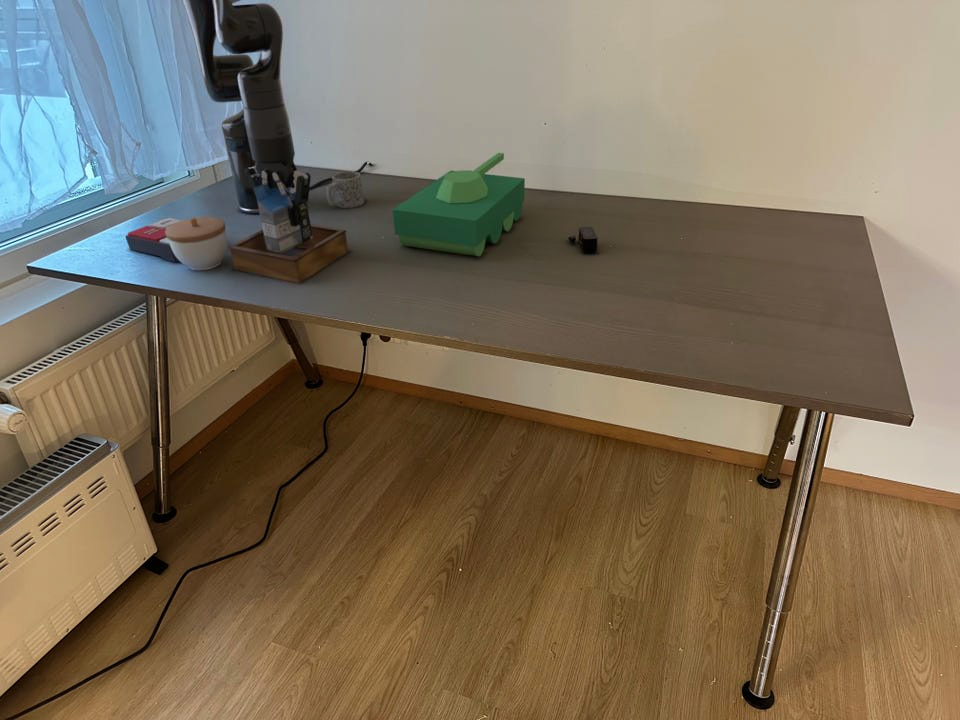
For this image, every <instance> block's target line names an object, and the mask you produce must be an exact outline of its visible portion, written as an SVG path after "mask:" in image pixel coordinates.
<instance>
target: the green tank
mask: <svg viewBox="0 0 960 720" xmlns="http://www.w3.org/2000/svg"><path fill="white" fill-rule="evenodd" d="M504 159H505V153H504V152H497V153H496V154H494V155H493V156H491V157H490V158H489V159H487V160H486V161H485V162H483V163H482V164H480V165H479V166H478V167H476V168H474V170H470V169H468V170H450V171H448V172H446V173H445V174H443V175H442V176H440V177H439V178H437V179H436V180H434V181H433V182H432V183H430V184H429V185H426V187H425V188H423V189H421V190H420V191H418V192H417V193H415V194H414V195H412V196H411V197H409V198H408V199H406V200H405V201H403V202H402V203H400V204H399V205H398V206H395V208H393V209H392V217H393V227H394V235H397V236H398V240H399V243H400V244H401V245H402V246H405V247H409V248H410V247H411V248H417V249H425V250H432V251H438V252H444V253H445V252H446V253H452V254H461V255H467V256H474V257H480V256H482V255H483V252H484V250H485V246H486V244H487V243H488V244H497V243H498V242H499V240H500V239H501V236H502V232H509V231H510V230H511V229H512V226H513V224H514V222H517V221H518V220H519V219H520V217H521V214H522V211H523V210H522V209H523V203H524V202H525V187H526V185H525V182H526V181H525V177H516V176H508V175H496V174H487V173H488V172H489V171H490V170H491V169H493V168H494V167H495V166H497V165H498V164H500V163H501V162H502V161H503V160H504Z"/></svg>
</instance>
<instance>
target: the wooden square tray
mask: <svg viewBox="0 0 960 720" xmlns="http://www.w3.org/2000/svg"><path fill="white" fill-rule="evenodd" d="M310 224H311V230H312V236H313V238H312V239H310V240H308V241H306V242H304V243H302V244H300V245H298V246H296V247H294V248H296V249H301V250H304V251H302V252H300V253H298V254H296V255H294V256H291V255H285V254H279V253H275V252H272V251H268V250H267V247H266V242H265V237H264V232H263V229H261V230H259V231H257V232H255V233H252V235H249V236H247V237H246V238H243V239H241V240H239V241H238V242H236V243H233V244H232V245H229V246H228V247H227V249H228V250H229V252H230V256H231V260H232V264H233V269H234V270H235V271H240V272H245V273H249V274H255V275H259V276H264V277H269V278H273V279H278V280H283V281H288V282H292V283H296V284H300V283H302V282H304V281H305V280H306V279H308V278H310V277H312V276H313V275H314V274H316V273H317V272H319V271H320V270H322V269H324V268H325V267H326V266H328V265H330V264H331V263H333V262H334V261H336V260H338V259H340V258H341V257H342V256H344V255H346V254H348V253H349V248H348V246H349V245H348V240H347V234H346V233H347V229H343V228H337V227H332V226H325V225H318V224H313V223H310Z"/></svg>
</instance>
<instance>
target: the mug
mask: <svg viewBox="0 0 960 720" xmlns="http://www.w3.org/2000/svg"><path fill="white" fill-rule="evenodd" d="M354 171H355V170H354ZM354 171H353V170H351V171H350V170H349V171H340V172H336V173H334V174H333V175H332V176H331V177H332V183H330V184H329V185H328V186H327V187H326V189H325V195H326V196H325V197H326V200H327V203H328V204H327V205H329V206H330V207H335V206H336V207H339V208H342V209H343V208H344V209H349V208H350V209H351V208H356V207H359V206H362V205H364V203H365V197H364V191H363V183H362V174H361V172H354ZM332 190H333V194H334V200H333V198H332Z"/></svg>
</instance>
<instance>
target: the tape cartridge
mask: <svg viewBox="0 0 960 720" xmlns="http://www.w3.org/2000/svg"><path fill="white" fill-rule="evenodd" d="M269 189H270V188H269ZM289 189H290V187H288V188H286V190H289ZM254 190H255V193H256V197H257V202H258V207H259V212H260V213H259V216H260V221H261V227H262V230H263V232H264V237H265V242H266V247H267V250H268V251H272V252H275V253H276V254H280V255H282V254H283V253H285V252H287V251H289V250H291V249H293V248H295V247H296V246H298V245H300V244H302V243H304V242H306V241H308V240H310V239H312V238H313V236H312V230H311V224H312V223H311V219H310V213H309V206H308V202H306V203H304V204H302V205H300V210H301V215H302V222H301V224H300V225H298V226H296V227H294V226H291V223H290V217H289V212H288V208H289V207H288V205H287V202H286V200H285V198H284V197H283V196H282V195H281V193H280V190H279V189H277V190H276V191H274V192H272V193H271V195H270V196H269V194H267V193H266V191H265V187H264V184H263V185H260V186H258V187H255V188H254ZM291 198H292V200H293V197H292V195H291Z"/></svg>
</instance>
